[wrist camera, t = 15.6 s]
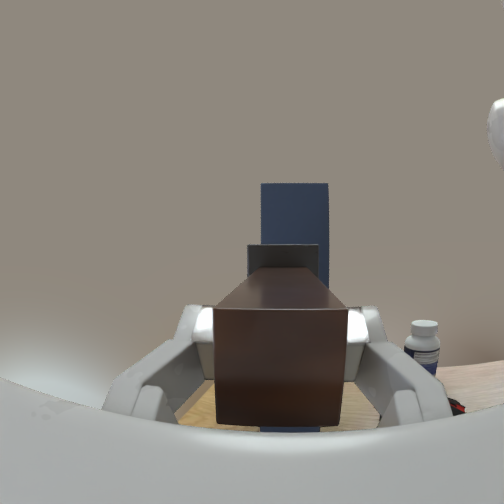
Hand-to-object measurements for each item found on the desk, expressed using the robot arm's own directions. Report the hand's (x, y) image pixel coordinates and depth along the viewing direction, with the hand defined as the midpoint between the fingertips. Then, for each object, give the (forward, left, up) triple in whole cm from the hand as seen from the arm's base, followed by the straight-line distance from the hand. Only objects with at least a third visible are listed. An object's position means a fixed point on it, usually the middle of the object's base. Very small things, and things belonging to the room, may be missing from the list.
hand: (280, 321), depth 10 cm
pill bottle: (-20, -31, -18) cm, 41 cm away
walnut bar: (0, -5, -2) cm, 5 cm away
